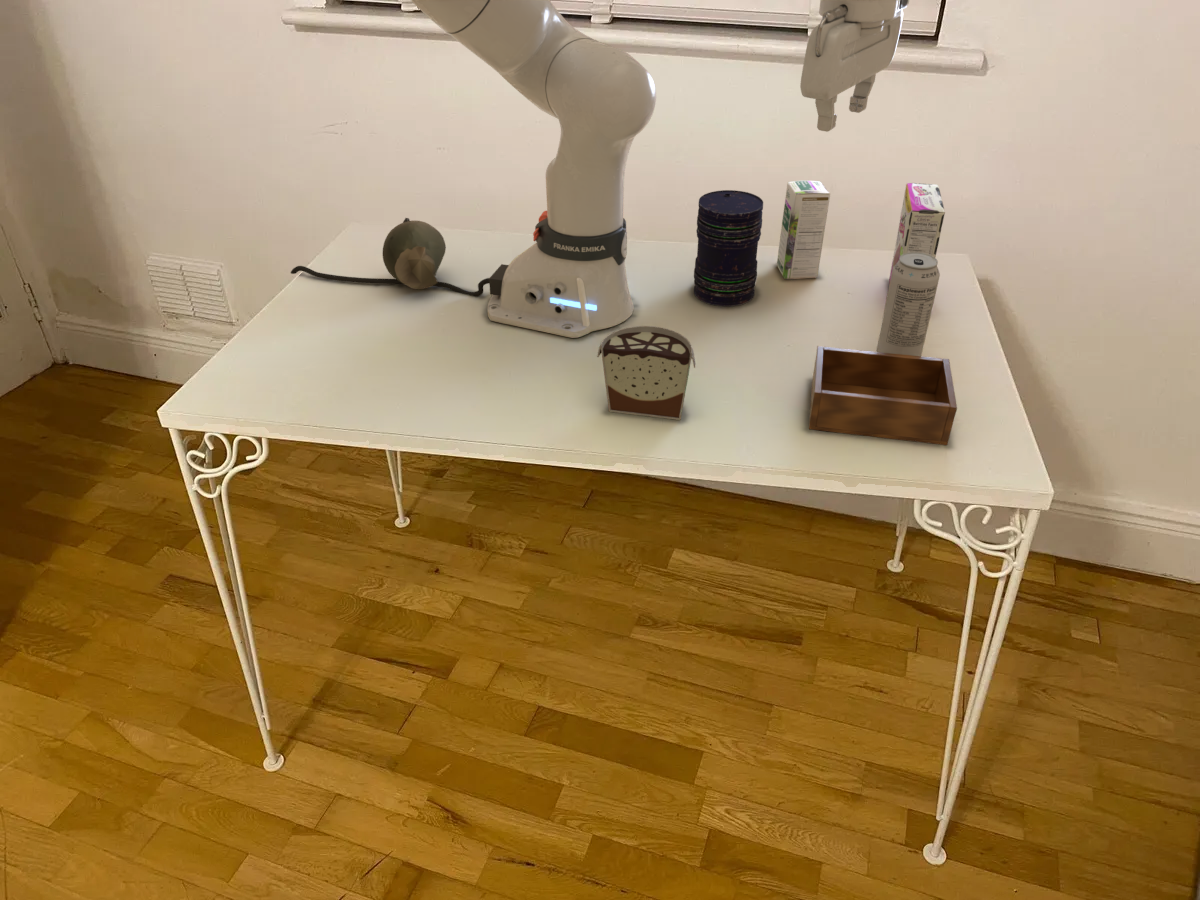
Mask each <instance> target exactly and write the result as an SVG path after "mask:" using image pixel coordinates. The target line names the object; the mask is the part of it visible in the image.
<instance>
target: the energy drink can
mask: <svg viewBox="0 0 1200 900" xmlns="http://www.w3.org/2000/svg"><path fill="white" fill-rule="evenodd" d="M938 263H939V261H938V259H937V257H935V258H934V257H933V256H931V255H928V254H924V253H918V252H910V253H905V254H902V255H901V256H900V258H899V261H898V262H897V263H896V265H895V266H894V267H893V269H892V274H891V279H890V283H889V285H888V290H887V295H886V301H885V305H884V311H883V315H882V321H881V325H880V331H879V336H878V341H877V346H876V352H882V353H892V354H902V355H912V356H922V354H923V350H924V345H925V342H926V337H927V333H928V328H929V325H930V320H931V315H932V311H933V307H934V302H935V299H936V294H937V289H938V285H939V281H940V277H941V272H940V270H939V268H938Z"/></svg>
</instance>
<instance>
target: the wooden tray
mask: <svg viewBox="0 0 1200 900" xmlns="http://www.w3.org/2000/svg"><path fill="white" fill-rule="evenodd" d="M812 373H813V374H812V380H811V391H810V393H811V394H810V406H809V407H810V408H809V420H808V430H812V431H822V432H831V433H839V434H847V435H848V434H849V435H854V436H865V437H872V438H881V439H889V440H900V441H907V442H915V443H925V444H932V445H942V446H948V443H949V440H950V435H951V432H952V429H953V424H954V421H955V417H956V413H957V409H958V405H957V400H956V393H955V387H954V381H953V374H952V368H951V363H950V359H949V358H943V357H942V358H941V357H933V356H932V357H931V356H922V355H921V356H912V355H902V354H892V353H882V352H877V351H873V350H863V349H861V350H859V349H850V348H841V347H832V346H831V347H830V346H819V345H817V346H816V353H815V360H814V367H813V372H812Z"/></svg>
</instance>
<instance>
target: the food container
mask: <svg viewBox="0 0 1200 900" xmlns="http://www.w3.org/2000/svg"><path fill="white" fill-rule="evenodd" d="M600 356H601V360H602V369H603V376H604V383H605V392H606V398H607V408H608V412H610V413H616V414H626V415H633V416H634V415H635V416H641V417H651V418H659V419H665V420H666V419H669V420H676V421H681V419H682V413H683V407H684V402H685V397H686V392H687V391H686V390H687V386H688V379H689V376H690V375H689V374H690V369H691V364H693V368H694V369H696V365H697V363H696V358H695V351H694V349H693V347H692V344H691V342H690V341H689V340H688V338H686V336H684V335H682V334H681V333H679V332H677V331H675V330H672V329H669V328H666V327H660V326H652V325H641V326H640V325H638V326H630V327H629V326H628V327H625V328H621V329H618V330H616V331H613V332H611V333H609V334H607V336H605V337H604V338H603V339H602V341H601V342H600V345H599V347H598V351H597V355H596V358H599V357H600ZM691 362H692V363H691Z"/></svg>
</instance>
